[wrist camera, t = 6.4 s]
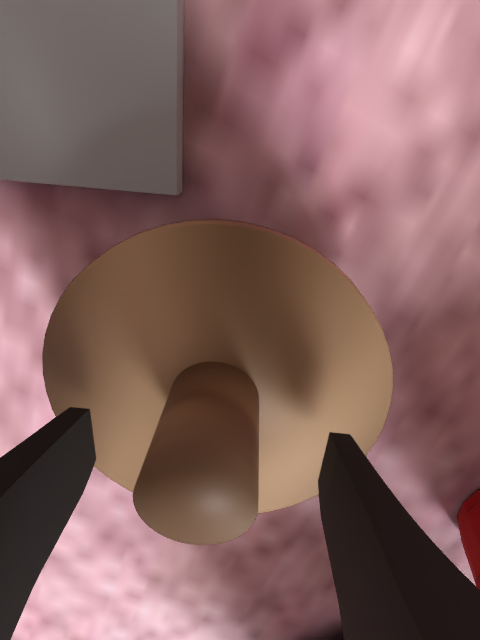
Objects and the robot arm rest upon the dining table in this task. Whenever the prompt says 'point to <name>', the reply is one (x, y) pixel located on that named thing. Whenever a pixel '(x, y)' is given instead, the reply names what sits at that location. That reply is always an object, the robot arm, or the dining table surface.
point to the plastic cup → (471, 533)
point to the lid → (216, 371)
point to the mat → (92, 93)
